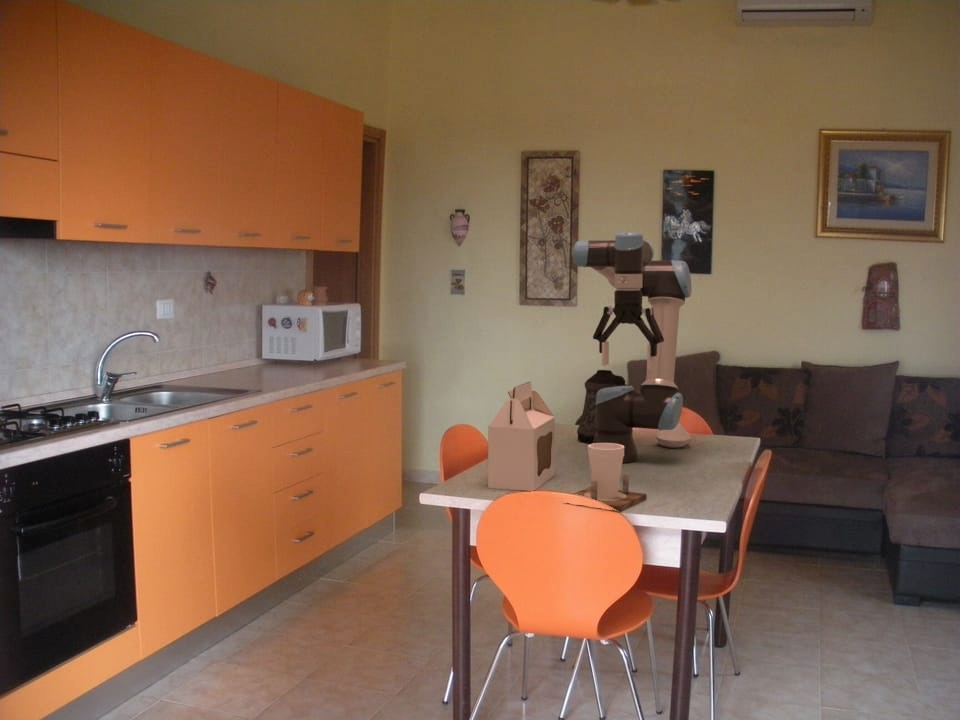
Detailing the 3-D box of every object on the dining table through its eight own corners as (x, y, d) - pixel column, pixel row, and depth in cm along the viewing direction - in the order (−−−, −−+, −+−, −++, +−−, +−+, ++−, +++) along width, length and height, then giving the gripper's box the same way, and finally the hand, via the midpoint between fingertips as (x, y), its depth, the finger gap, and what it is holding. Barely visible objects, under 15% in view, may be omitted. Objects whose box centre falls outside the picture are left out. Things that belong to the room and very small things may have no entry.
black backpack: (575, 436, 341) (576, 367, 339) (629, 436, 341) (630, 368, 338) (578, 444, 325) (579, 372, 323) (635, 445, 324) (636, 373, 322)
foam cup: (620, 490, 251) (620, 442, 250) (627, 499, 242) (627, 449, 241) (584, 491, 251) (585, 443, 249) (590, 499, 241) (590, 449, 240)
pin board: (592, 491, 257) (592, 467, 257) (646, 499, 248) (646, 475, 248) (563, 503, 244) (563, 478, 244) (619, 512, 235) (619, 486, 235)
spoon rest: (690, 450, 316) (691, 429, 315) (655, 449, 318) (655, 428, 318) (689, 438, 339) (689, 418, 339) (655, 437, 341) (656, 417, 341)
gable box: (511, 472, 282) (512, 379, 279) (554, 475, 277) (555, 381, 275) (487, 488, 261) (487, 388, 258) (533, 492, 256) (534, 390, 254)
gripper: (581, 289, 261) (580, 365, 263) (665, 290, 247) (664, 371, 249) (594, 288, 267) (593, 362, 269) (676, 289, 253) (675, 368, 255)
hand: (627, 366), depth 259 cm, fingers open, 13 cm apart
